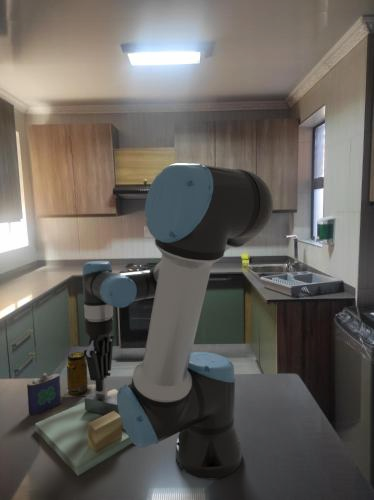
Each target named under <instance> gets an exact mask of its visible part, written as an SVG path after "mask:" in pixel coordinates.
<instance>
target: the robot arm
mask: <svg viewBox="0 0 374 500" xmlns="http://www.w3.org/2000/svg"><path fill="white" fill-rule="evenodd" d="M273 207H274V202H273V196H272V192H271V190H270V188H269V186H268V184H267V183H266V182H265V180H263V179H262V178H261V177H260V176H258V174H255V173H254V172H251V171H249V170H246V169H239V168H238V169H237V168H236V169H235V168H228V167H227V168H226V167H220V166H214V165H207V164H201V163H195V162H194V163H173V164H170V165H168V166H166V167H164V168H163V169H162V170H161V171H160V173H158V174H157V175H156V176H155V178H154V179H153V181H152V182H151V185H150V187H149V188H148V191H147V195H146V199H145V206H144V216H145V217H147V218H146V220H145V223H146V226H147V229H148V232H149V234H150V235H151V236H152V237H153V238H154V239H155V240H154V244H155V246H156V248H157V249H158V250H159V252H160V253H161V258H160V259H161V260H160V261H159V262H158V263H156V265H155V266H154V267H152V268H150V269H143V270H135V271H134V270H133V271H125V272H116V273H115V272H113V269H112V263H111V262H110V261H107V260H93V261H87V262H85V263H83V265H82V275H81V278H82V290H83V291H82V292H83V303H84V305H83V309H84V318H85V320H84V331H85V334H87V335H88V336H89V340H88V349H84V350H83V353H84V355H85V358H86V362H87V371H88V374H89V379H90V381H94V382H95V384H96V386H95V393H96V394H101V395H106V396H108V394H107V392H108V377H110V376H111V375H112V374H111V373H112V372H110V371H112V361H113V360H112V359H113V348H114V347H113V346H114V341H115V335H113V334H112V335H111V333H112V332H113V331H114V317H113V315H114V307H116V308H121V309H122V308H126V307H128V306H129V305H130V304H132V303H133V302H135V301H137V302H138V301H141V300H146V299H147V300H148V299H153V303H152V309H151V310H152V311H151V316H150V321H149V326H148V331H147V333H148V334H147V339H146V344H145V349H144V354H143V355H144V356H143V360H142V361H141V362H139V363H138V364H137V365H136V366H135V368H134V370H133V373H132V378H131V383H130V384H125V385H123V386H122V387H120V388H119V389H118V390H117V391H118V393H117V405H118V410H119V414H120V418H121V421H122V424H123V426H124V428H125V431H126V433H127V435H128V436H129V438H130V439H131V441H132V442H133V443H132V444H134V445H135V446H136V447H138V448H142V449H144V448H147V447H150V446H152V445H157V444H159V443H161V442H162V441H165V440H166V439H168V438H170V437H173V436H174V435H176V434H178V436H177V440H176V443H175V459H176V462H177V463H178V465H179V467H180V468H181V469H182V470H184V471H185V472H186V473H187V474H189V475H191V476H193V477H197V478H199V479H204V480H205V479H206V480H215V479H216V480H217V479H223V478H226V477H228V476H230V475H231V474H233V473H234V472H235V471H236V470H237V469H238V468H239V467H240V465H241V463H242V459H241V458H243V457H242V455H243V454H242V451H243V450H242V443H241V440H240V438H239V437H238V432H237V429H236V425H235V398H236V397H235V387H236V386H235V385H236V384H235V383H236V378H235V367H234V364H233V362H232V361H231V360H230V359H228V358H227V357H225V356H224V355H221V354H217V353H213V352H210V351H209V352H208V351H194V352H193V346H194V343H195V339H196V335H197V330H198V326H199V322H200V317H201V313H202V309H203V305H204V300H205V296H206V292H207V287H208V284H209V279H210V275H211V270H212V266H213V264H215V263H216V262H219V261H220V260H222V259H223V258H224V255H225V253H226V252H227V251H228V250H229V249H231V248H240V247H243V245H245V244H246V243H249V241H251V240H252V239H254V238H255V237H257V236H258V235H259V234H260V233H261V232H262V231H263V230H264V229H265V228H266V226H267V225H268V224H269V223H270V219H271V217H272V214H273Z"/></svg>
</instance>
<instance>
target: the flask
mask: <svg viewBox="0 0 374 500" xmlns="http://www.w3.org/2000/svg"><path fill="white" fill-rule="evenodd" d="M26 389H27V405H28V415H29V417H31V418H32V417H36V416H39V415H43V414H45V413H46V412H48V411H51V410H53V409H56V408H57V407H59V406H60V405H61V403H62V398H61V397H62V396H61V393H62V392H61V376H60V374H59V373H54V374H53V373H52V374H51V375H49V376H48V374H47V372H43V373H42V376H41V377H40V378H39V379H36V380H32V381H31V382H29V383H27V385H26Z"/></svg>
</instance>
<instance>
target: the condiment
mask: <svg viewBox="0 0 374 500" xmlns="http://www.w3.org/2000/svg"><path fill="white" fill-rule="evenodd" d="M66 374H67V375H66V378H67V380H66V382H67V390H66V392H65V394H64V397H63V398H76V397H78V398H79V397H86V396H88V395H89V394H90V393H95V390H96V383H92V384H88V365H87V360H86V357H85V355H84V351H83V352H82V351H75V352H71V353H70V354H68V356H67V364H66Z"/></svg>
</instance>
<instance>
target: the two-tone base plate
mask: <svg viewBox="0 0 374 500" xmlns="http://www.w3.org/2000/svg"><path fill="white" fill-rule="evenodd" d="M117 393H118V390H117V389H116V388H113V389H110V390H107V394H108V396H111V397H116V398H117ZM34 425H35V432H36V433H37V434H38V435H39V436H40V437H41V438H42V440H44V442H46V444H47V445H48V446H49V445H50V448H51V449H52V450H53V451H54V452H55V453H56V454H57V455H58V456H59V458H60V459H61V460H62V461H63V462H64V463H65V464H66V465H67V466H68V467H69V468H70V469H71V470H72V471H73V473H74V474H75V475H76V476H77V477H79V476H80V475H82V474H83V473H85V472H87V471H89V470H90V469H92V468H94V467H96V466H97V465H98V464H101V463H102V462H104V461H105V460H107V459H108V458H111V457H112V456H113V455H115V454H116V453H117V454H118V452H120V451H121V450H123V449H125V448H127V447H128V446H131V445H132V444H134V443H133V442H132V441H131V439H130V438H129V436H128V435H127V433H126V431H125V428H124V426H123V424H122V421H121V418H120V415H119V414H118V413H116V412H115V411H112V412H110V413H108V414H106V415H104V414H99V413H95V412H91V411H86V410H85V401H84V402H80V403H79V404H76V405H74V406H72V407H69V408H68V409H67V408H66V409H65V410H62V411H61V412H58V413H56V414H54V415H52V416H49V417H47V418H45V419H43V420H39V421H38V422H36V423H35V424H34Z"/></svg>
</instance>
